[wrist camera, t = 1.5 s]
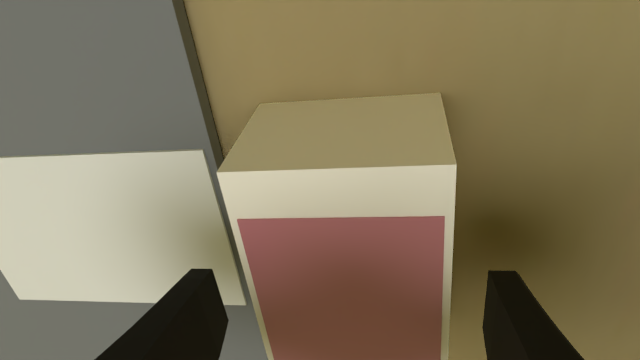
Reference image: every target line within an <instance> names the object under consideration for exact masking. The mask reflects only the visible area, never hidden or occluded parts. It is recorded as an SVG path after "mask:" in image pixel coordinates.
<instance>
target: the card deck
mask: <svg viewBox="0 0 640 360" xmlns="http://www.w3.org/2000/svg"><path fill="white" fill-rule="evenodd" d="M456 168H457V164H456V159H455V155H454V151H453V146H452V142H451V137H450V133H449V129H448V124H447V120H446V115H445V111H444V106H443V102H442V98H441V93H428V94H411V95H395V96H378V97H361V98H344V99H328V100H311V101H294V102H278V103H261V104H259V106H258V107H257V109H256V110H255V112H254V113H253V115H252V117H251V118H250V120H249V121H248V123H247V125H246V126H245V128H244V129H243V131H242V132H241V134H240V136H239V137H238V139H237V140H236V142H235V144H234V145H233V147H232V148H231V150H230V152H229V153H228V155H227V156H226V158H225V159H224V161H223V163H222V164H221V166H220V167H219V169H218V171H217V172H216V173H217V177H218V180H219V184H220V188H221V191H222V195H223V198H224V202H225V206H226V209H227V213H228V216H229V220H230V224H231V227H232V231H233V235H234V238H235V242H236V245H237V249H238V253H239V256H240V260H241V263H242V267H243V271H244V274H245V278H246V281H247V285H248V289H249V292H250V296H251V300H252V303H253V307H254V310H255V314H256V318H257V321H258V325H259V328H260V332H261V336H262V339H263V343H264V347H265V350H266V354H267V357H268V360H448V352H449V329H450V306H451V283H452V260H453V237H454V214H455V191H456Z"/></svg>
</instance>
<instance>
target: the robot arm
mask: <svg viewBox="0 0 640 360" xmlns="http://www.w3.org/2000/svg"><path fill="white" fill-rule="evenodd" d="M228 321H229V320H228V317H227V314H226V310H225V307H224V304H223V301H222V298H221V295H220V292H219V288H218V285H217V282H216V279H215V276H214V273H213V270H212V269H191V270H189V271H188V272H187V273H186V274H185V275H184V276H183V277H182V278H181V279H180V280H179V281H178V282H177V283H176V284H175V285H174V286H173V287H172V288H171V289H170V290H169V291H168V292H167V293H166V294H165V295H164V296H163V297H162V298H161V299H160V300H159V301H158V302H157V303H156V304H155V305H154V306H153V307H152V308H151V309H150V310H148V311H147V312H146V313H145V314H144V315H143V316H142V317H141V318H140V319H139V320H138V321H137V322H136V323H135V324H134V325H133V326H132V327H131V328H130V329H128V330H127V331H126V332H125V333H124V334H123V335H122V336H121V337H119V338H118V339H117V340H116V341H115V342H114V343H113V344H112V345H110V346H109V347H108V348H107V349H106V350H105V351H104V352H103V353H101V354H100V355H99V356H98V357H97V358H96V359H94V360H219V357H220V354H221V350H222V346H223V342H224V338H225V334H226V330H227V325H228ZM483 334H484V341H485V348H486V354H487V360H584V359H583V358H582V356H581V355H580V354H579V353H578V352H577V351H576V349H575V348H574V347H573V346H572V345H571V343H570V342H569V341H568V340H567V338H566V337H565V336H564V335H563V334H562V332H561V331H560V330H559V329H558V327H557V326H556V325H555V324H554V322H553V321H552V320H551V319H550V317H549V316H548V315H547V313H546V312H545V311H544V309H543V308H542V307H541V305H540V304H539V303H538V301H537V300H536V298H535V297H534V296H533V294H532V293H531V291H530V290H529V289H528V287H527V286H526V284H525V283H524V281H523V280H522V278H521V277H520V275H519V274H518V273H517V272H516V271H488V281H487V290H486V300H485V309H484V319H483Z"/></svg>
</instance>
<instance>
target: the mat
mask: <svg viewBox="0 0 640 360" xmlns="http://www.w3.org/2000/svg"><path fill="white" fill-rule="evenodd" d="M223 161H224V159H223V155H222V151H221V147H220V143H219V140H218V136H217V132H216V128H215V124H214V120H213V116H212V112H211V109H210V105H209V101H208V97H207V93H206V89H205V85H204V81H203V77H202V74H201V70H200V66H199V62H198V58H197V54H196V50H195V46H194V43H193V39H192V35H191V31H190V27H189V23H188V19H187V15H186V11H185V8H184V4H183V0H0V360H94V359H96V358H97V357H98V356H99V355H100V354H101V353H103V352H104V351H105V350H106V349H107V348H108V347H109V346H110V345H112V344H113V343H114V342H115V341H116V340H117V339H118V338H119V337H121V336H122V335H123V334H124V333H125V332H126V331H127V330H128V329H130V328H131V327H132V326H133V325H134V324H135V323H136V322H137V321H138V320H139V319H140V318H141V317H142V316H143V315H144V314H145V313H146V312H147V311H148V310H150V309H151V308H152V307H153V306H154V305H155V304H156V303H157V302H158V301H159V300H160V299H161V298H162V297H163V296H164V295H165V294H166V293H167V292H168V291H169V290H170V289H171V288H172V287H173V286H174V285H175V284H176V283H177V282H178V281H179V280H180V279H181V278H182V277H183V276H184V275H185V274H186V273H187V272H188V271H189V270H191V269H212V270H213V273H214V276H215V279H216V282H217V285H218V288H219V292H220V295H221V298H222V301H223V304H224V307H225V310H226V314H227V317H228V320H229V321H228V325H227V330H226V334H225V338H224V342H223V346H222V350H221V354H220V357H219V360H268V357H267V354H266V350H265V347H264V343H263V339H262V336H261V332H260V328H259V325H258V321H257V318H256V314H255V310H254V307H253V303H252V300H251V296H250V292H249V289H248V285H247V281H246V278H245V274H244V271H243V267H242V263H241V260H240V256H239V253H238V249H237V245H236V242H235V238H234V235H233V231H232V227H231V224H230V220H229V216H228V213H227V209H226V206H225V202H224V198H223V195H222V191H221V188H220V184H219V180H218V177H217V173H216V172H217V171H218V169H219V167H220V166H221V164H222V163H223Z"/></svg>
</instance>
